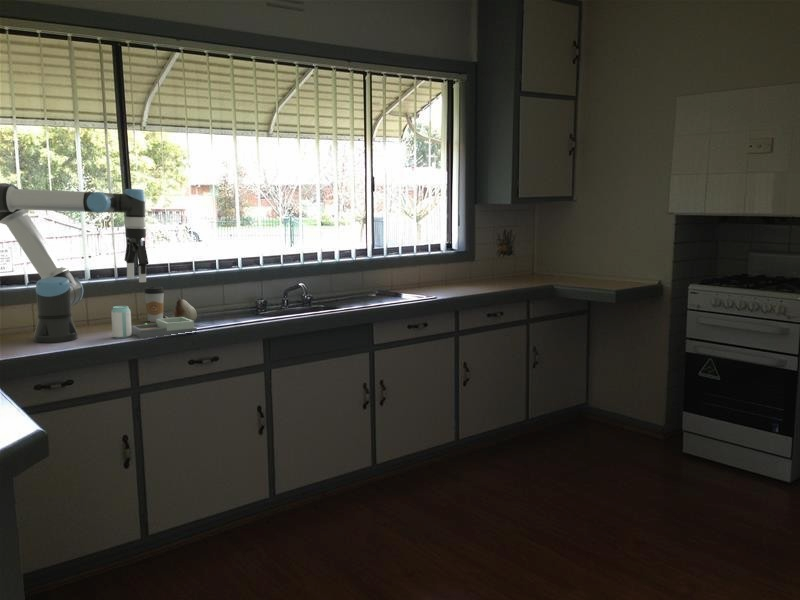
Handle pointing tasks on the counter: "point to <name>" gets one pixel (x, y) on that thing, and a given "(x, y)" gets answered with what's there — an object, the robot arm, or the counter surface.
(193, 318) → the fruit
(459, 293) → the counter surface
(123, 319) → the can
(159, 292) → the coffee cup
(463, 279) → the counter surface
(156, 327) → the grey tray
